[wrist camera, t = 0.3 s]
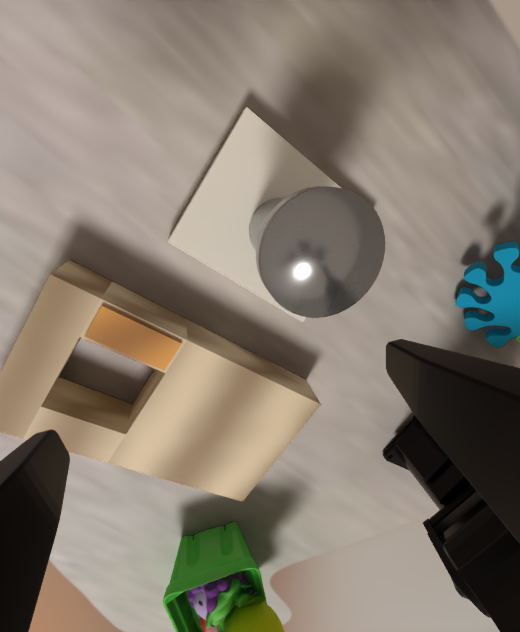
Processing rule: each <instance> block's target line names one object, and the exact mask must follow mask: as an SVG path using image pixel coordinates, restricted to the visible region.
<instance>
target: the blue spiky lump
mask: <svg viewBox="0 0 520 632" xmlns="http://www.w3.org/2000/svg"><path fill="white" fill-rule="evenodd" d="M518 256H519V245H518V243H517V242H516V241H511V242H505V243H501V244H498V245H495V247H494V258H495V260H496V261H498V262H499V263H500V264H501V265H502V267H503V269H504V275H503V276H502V277H501V278H500V279H496V280H492V279H489V278H488V277H487V276H486V266H485V265H484V264H483V263H481V262H477V263H474V264H473V265H471V266H470V267H468V268H467V269H466V270H465V272H464V279H465V280H466V281H467V282H469V283H473V284H476V285H479V286H481V287H483V288H484V289H485V290H486V291H487V292H488V293H489V294H490V296H488V297H479V296H477V295H476V294H475V293H474V291H473V290H472V289H470V288H466V287H463V288H461V289H460V290H459V292H458V295H457V299H456V305H457V306H458V307H462V308H466V307H476V308H481V309H484V310H487V311H489V312H491V313H493V314H490V315H484V314H481V313H479V312H476V311H468V312H466V313H465V321H464V322H465V325H466V327H467V329H468V330H477V329H479V328H481V327H485V326H491V325H500V326H507V327H509V328H506V329H498V328H493V329H490V330H488V331H487V332H486V340H487V341H488V342H489V343H490V344H491V345H493V346H494V347H496V348H498V347H502V346H504V345H505V344H506V342H507V341H509V340H510V339H512V338H514V337H516V342H517V343H519V344H520V266H515V265H513V264H512V263H513V262H514V261H515V260H516V259H517V258H518Z"/></svg>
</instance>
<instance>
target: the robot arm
mask: <svg viewBox="0 0 520 632" xmlns="http://www.w3.org/2000/svg"><path fill="white" fill-rule="evenodd" d="M386 370H387V373H388V375H389V377H390V378H391V380H392V381H393V383H394V384H395V386H396V387H397V389H398V390H399V392H400V393H401V395H402V396H403V398H404V399H405V401H406V402H407V404H408V406H409V407H410V409H411V410H412V412H413V413H414V414H415V416H416V417H415V418H414V419H413V421H412V422H411V423H410V424H409V425H408V426H407V427H406V428H405V429H404V431H403V432H402V433H401V434H400V435H399V436H398V437H397V438H396V439H395V441H394V442H393V443H392V444H391V445H390V446H389V447H388V448H387V449H386V451H385V452H384V453H383V456H384V458H385V459H386V460H387V461H389V462H391V463H394V464H396V465H398V466H401V467H403V468H405V469H407V470H410V471H411V473H412V474H413V475H414V477H415V478H416V479H417V481H418V482H419V483H420V485H421V486H422V487H423V488H424V490H425V491H426V492H427V494H428V495H429V496H430V498H431V499H432V500H433V502H434V503H435V504H436V506H437V507H438V508H439V509H440V510H439V511H438V512H437V513H436V514H435V515H434V516H432V517H431V518H430V519H427V520H426V521H424V522H423V524H424V526H425V528H426V530H427V532H428V536H429V538H430V540H431V542H432V543H433V545H434V547H435V549H436V551H437V552H438V554H439V556H440V558H441V560H442V562H443V563H444V565H445V567H446V569H447V571H448V573H449V574H450V576H451V578H452V581H453V583H454V586H455V589H456V590H457V592H458V593H459V594H460V595H461V596H462V597H464V598H467V599H469V600H470V601H471V602H472V603H473V604H474V605H475V606H476V607H477V608H478V609H479V610H480V611H481V612H482V613H483V614H484V615H486V616H487V617H490V618H492V620H493V621H494V623H495V624H496V626H497V627H498V629H499V630H500V632H520V368H517V367H513V366H509V365H505V364H500V363H496V362H492V361H488V360H484V359H480V358H476V357H472V356H468V355H464V354H460V353H456V352H452V351H448V350H444V349H440V348H436V347H432V346H428V345H423V344H419V343H415V342H411V341H407V340H403V339H399V340H395V341H391V342H388V344H387V345H386ZM69 463H70V457H69V453H68V451H67V449H66V447H65V445H64V443H63V442H62V440H61V438H60V436H59V434H58V433H57V432H56V431H55V430H52V429H51V430H47V431H43V432H39V433H36V434H34V435H33V436H31V437H30V438H29V439H28V440H26V441H25V442H24V443H23V444H21V445H20V446H19V447H18V448H16V449H15V450H14V451H13V452H11V453H10V454H9V455H8V456H6V457H5V458H4V459H3V460H1V461H0V632H28V631H29V628H30V624H31V621H32V617H33V614H34V610H35V607H36V603H37V600H38V596H39V592H40V589H41V585H42V582H43V578H44V575H45V571H46V567H47V564H48V561H49V557H50V553H51V550H52V546H53V543H54V539H55V536H56V532H57V528H58V524H59V520H60V515H61V510H62V504H63V498H64V492H65V486H66V481H67V475H68V469H69Z"/></svg>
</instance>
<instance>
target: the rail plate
mask: <svg viewBox="0 0 520 632" xmlns="http://www.w3.org/2000/svg"><path fill="white" fill-rule="evenodd" d="M80 338H83V339H86V340H88V341H90V342H93V343H95V344H97V345H100V346H102V347H105V348H107V349H109V350H112V351H114V352H116V353H119V354H121V355H123V356H126V357H128V358H130V359H133V360H135V361H138V362H140V363H142V364H145V365H147V366H149V367H152V368H154V369H155V370H154V371H153V373H152V375H151V376H150V378H149V379H148V381H147V382H146V384H145V385H144V387H143V389H142V390H141V392H140V393H139V395H138V396H137V398H136V400H135V401H134V403H133V404H130V403H128V402H125V401H122V400H120V399H117V398H114V397H112V396H109V395H106V394H103V393H101V392H98V391H95V390H93V389H90V388H87V387H84V386H82V385H79V384H76V383H74V382H71V381H68V380H65V379H63V378H60V377H59V376H60V374H61V372H62V371H63V369H64V367H65V365H66V364H67V362H68V360H69V358H70V356H71V355H72V353H73V351H74V349H75V347H76V346H77V344H78V342H79V340H80ZM320 405H321V404H320V402H319V400H318V399H317V397H316V395H315V394H314V392H313V390H312V389H311V387H310V385H309V384H308V382H307V380H305V379H303V378H301V377H299V376H297V375H295V374H293V373H291V372H289V371H287V370H285V369H283V368H282V367H280V366H278V365H276V364H274V363H272V362H270V361H268V360H266V359H264V358H262V357H260V356H258V355H256V354H254V353H252V352H250V351H248V350H246V349H244V348H242V347H240V346H238V345H236V344H234V343H232V342H230V341H228V340H226V339H224V338H222V337H220V336H218V335H217V334H215V333H213V332H211V331H209V330H207V329H205V328H203V327H201V326H199V325H197V324H195V323H193V322H191V321H189V320H187V319H185V318H183V317H181V316H179V315H177V314H175V313H173V312H171V311H169V310H167V309H165V308H163V307H161V306H159V305H157V304H155V303H153V302H151V301H150V300H148V299H146V298H144V297H142V296H140V295H138V294H136V293H134V292H132V291H130V290H128V289H126V288H124V287H122V286H120V285H118V284H116V283H114V282H112V281H110V280H108V279H106V278H104V277H102V276H100V275H98V274H96V273H94V272H92V271H90V270H88V269H86V268H85V267H83V266H81V265H79V264H77V263H75V262H73V261H71V260H68V261H67V262H66V263H64V264H63V265H62V266H60V267H59V268H58V269H56V270H55V271H54V272H52V273H51V274H50V275H49V277H48V279H47V281H46V283H45V285H44V287H43V289H42V291H41V293H40V295H39V297H38V299H37V301H36V303H35V305H34V307H33V309H32V311H31V313H30V315H29V317H28V319H27V321H26V323H25V325H24V327H23V329H22V331H21V333H20V335H19V337H18V339H17V341H16V343H15V345H14V346H13V348H12V350H11V352H10V354H9V356H8V358H7V360H6V362H5V364H4V366H3V368H2V370H1V372H0V432H2V433H6V434H9V435H13V436H16V437H20V438H23V439H27V440H28V439H29V438H30V437H31V436H33V435H34V434H36V433H39V432H43V431H47V430H51V429H52V430H55V431H56V432H57V433H58V434H59V436H60V438H61V440H62V442H63V443H64V445H65V447H66V449H67V451H68V452H72V453H75V454H79V455H82V456H86V457H89V458H93V459H96V460H100V461H103V462H106V463H110V464H113V465H117V466H120V467H124V468H127V469H131V470H134V471H138V472H141V473H145V474H148V475H152V476H155V477H159V478H162V479H165V480H169V481H172V482H176V483H179V484H183V485H186V486H190V487H193V488H197V489H200V490H204V491H207V492H211V493H214V494H218V495H221V496H224V497H228V498H231V499H235V500H238V501H242V502H243V501H244V499H245V498H246V497H247V496H248V494H249V493H250V492H251V491H252V489H253V488H254V487H255V486H256V484H257V483H258V482H259V481H260V479H261V478H262V477H263V476H264V474H265V473H266V472H267V471H268V470H269V468H270V467H271V466H272V465H273V463H274V462H275V461H276V460H277V458H278V457H279V456H280V455H281V453H282V452H283V451H284V450H285V448H286V447H287V446H288V445H289V443H290V442H291V441H292V440H293V438H294V437H295V436H296V435H297V434H298V432H299V431H300V430H301V429H302V427H303V426H304V425H305V424H306V422H307V421H308V420H309V419H310V417H311V416H312V415H313V414H314V412H315V411H316V410H317V409H318V407H319V406H320Z"/></svg>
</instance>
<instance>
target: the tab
mask: <svg viewBox="0 0 520 632" xmlns="http://www.w3.org/2000/svg"><path fill="white" fill-rule="evenodd" d="M316 186H327V187H337V188H341V187H340V186H339V185H337V184H336V183H335V182H334V181H333V180H332V179H330V178H329V177H328V176H327V175H326V174H325V173H323V172H322V171H321V170H320V169H319V168H318V167H316V166H315V165H314V164H313V163H312V162H310V161H309V160H308V159H307V158H306V157H305V156H303V155H302V154H301V153H300V152H299V151H298V150H296V149H295V148H294V147H293V146H292V145H291V144H289V143H288V142H287V141H286V140H285V139H284V138H282V137H281V136H280V135H279V134H278V133H277V132H275V131H274V130H273V129H272V128H271V127H270V126H268V125H267V124H266V123H265V122H264V121H263V120H261V119H260V118H259V117H258V116H257V115H256V114H254V113H253V112H252V111H251V110H250V109H249V108H247V107H246V108H245V109H244V110H243V111H242V113H241V115H240V116H239V118H238V120H237V122H236V123H235V125H234V127H233V128H232V130H231V132H230V134H229V135H228V137H227V139H226V140H225V142H224V144H223V146H222V147H221V149H220V151H219V152H218V154H217V156H216V158H215V159H214V161H213V163H212V164H211V166H210V168H209V170H208V171H207V173H206V175H205V176H204V178H203V180H202V182H201V183H200V185H199V187H198V188H197V190H196V192H195V194H194V195H193V197H192V199H191V200H190V202H189V204H188V206H187V207H186V209H185V211H184V212H183V214H182V216H181V218H180V219H179V221H178V223H177V224H176V226H175V228H174V230H173V231H172V233H171V235H170V236H169V238H168V243H170V244H172V245H173V246H175V247H177V248H178V249H180V250H182V251H183V252H185V253H187V254H189V255H190V256H192V257H194V258H195V259H197V260H199V261H200V262H202V263H204V264H205V265H207V266H209V267H210V268H212V269H214V270H215V271H217V272H219V273H220V274H222V275H224V276H226V277H227V278H229V279H231V280H232V281H234V282H236V283H237V284H239V285H241V286H242V287H244V288H246V289H247V290H249V291H251V292H252V293H254V294H256V295H257V296H259V297H261V298H263V299H264V300H266V301H268V302H269V303H271V304H273V305H274V306H276V307H278V308H279V309H281V310H283V311H284V312H286V313H288V314H289V315H291V316H293V317H294V318H296V319H298V320H300V321H301V322H304V320H305V319H306V318H307V317H303V316H299V315H296V314H294V313H292V312H290V311H288V310H286V309H285V308H283V307H282V306H281V305H279V304H278V303H277V302H276V301H275V299H274V298H273V297H272V296H271V294H270V293H269V292H268V290H267V289H266V287H265V286H264V284H263V282H262V281H261V278H260V276H259V273H258V269H257V264H256V250H255V249H254V248H253V246H252V244H251V241H250V238H249V224H250V220H251V218H252V215H253V214H254V212H255V211H256V209H257V208H258V207H259V206H260V205H261V204H263V203H264V202H266V201H268V200H270V199H274V198H286V197H288V196H289V195H291V194H293V193H295V192H297V191H299V190H302V189H305V188H309V187H316Z"/></svg>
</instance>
